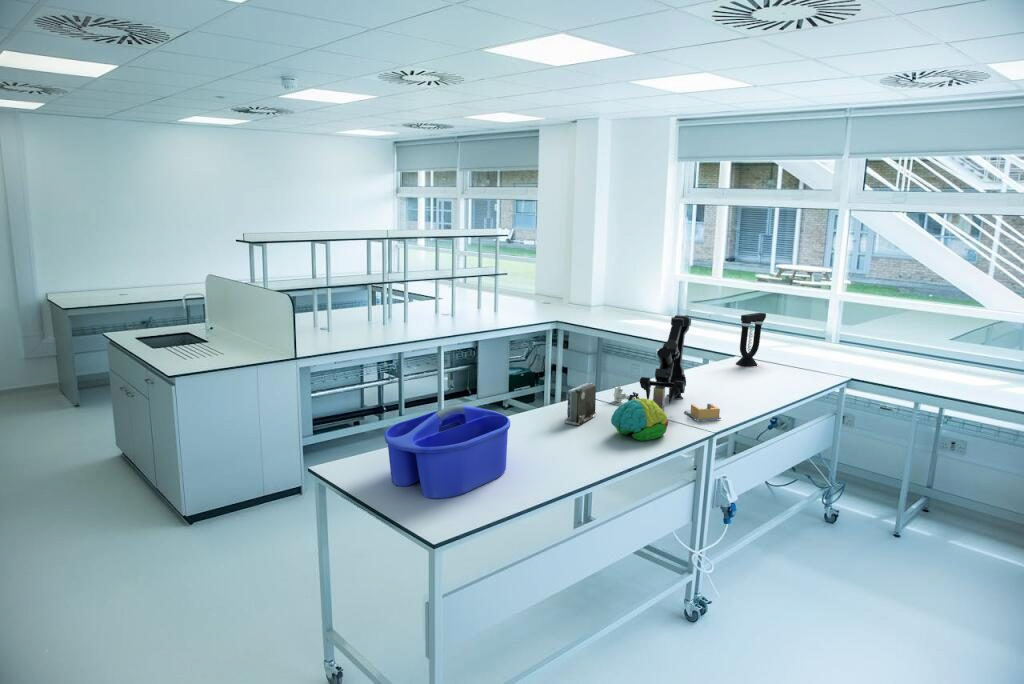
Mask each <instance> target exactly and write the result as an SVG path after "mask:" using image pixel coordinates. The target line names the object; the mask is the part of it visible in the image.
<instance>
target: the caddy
mask: <svg viewBox="0 0 1024 684" xmlns="http://www.w3.org/2000/svg"><path fill="white" fill-rule="evenodd" d="M510 428H511V420H510V418H509V417H508V416H506V414H503V413H501V412H498V411H494V410H491V409H485V408H480V407H474V406H469V405H461V404H456V405H449V406H447V407H444V408H442V409H440V410H436V411H432V412H429V413H426V414H424V415H421V416H420V415H419V416H416V417H413V418H410V419H407V420H403V421H400V422H398V423H395V424H393V425H392V426H390V427H388V428H387V430H386V431H385V432H384V441H385V443H386V445H387V450H388V459H389V460H388V461H389V468H390V469H389V470H390V477H391V483H392V484H393V485H394V484H395V485H394V486H396V485H398V486H397V487H407V486H412V485H414V484H415V483H417V482H420V487H421V489H420V490H421V493H422V496H424V497H425V498H428V499H445V498H446V499H447V498H452V497H456V496H459V495H460V496H461V495H463V494H466V493H468V492H471V491H473V490H474V489H476V488H478V487H480V486H484V485H485V484H487V483H489V482H491V481H494V480H496V479H497V478H499V477H501V476H502V475H503V474H504V473H505V472H506V470H507V455H508V454H507V453H508V452H507V451H508V435H509V430H510Z"/></svg>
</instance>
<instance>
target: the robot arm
mask: <svg viewBox="0 0 1024 684" xmlns="http://www.w3.org/2000/svg"><path fill="white" fill-rule="evenodd" d="M670 318H671V319H670V326H671V328H670V331H669V334H668V338H667V341H665V342H664V343H663V345H662V347H660V348H659V349H658V350H657V352H656V353H657V354H656V355H657V359H658V362H659V368H655V369H654V370H655V371H654V376H655V377H654V379H655V381H654V380H651V378H650V377H647V376H646V377H645V376H641V377H640V379H639V386H640V388H641V389H643V390H644V391H645V393H646V399H648V400H650V396H651V387H652V386H653V387H655V386H661V387H665V388H667V389H668V394H667V393H666V395H667V396H668V397H669V398H668V404H671V403H672V402H673V400H683V399H684V397H683V396H682V394H685V390H686V387H687V378H686V374H685V370H684V368H683V366H682V363H683V353H684V345H685V337H686V334H687V332H688V331H689V330H690V327H691V325H692V318H690V317H689V315H679V314H675V315H674V317H673V316H672V317H670ZM667 396H666V397H667Z"/></svg>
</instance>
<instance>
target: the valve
mask: <svg viewBox="0 0 1024 684" xmlns="http://www.w3.org/2000/svg"><path fill="white" fill-rule="evenodd" d="M623 389H624V388H623V387H622V386H616V387H614V392H613V397H614V398H613V402H614V401H617V402H619V403H622V402H623V400H627V401H630V400H635V399H637V398H638V399H640V397H639V393H636V392H635V391H633V392H632V394H629V395H627V394H626V393H625V392H623ZM621 401H622V402H621ZM617 402H616V403H617Z"/></svg>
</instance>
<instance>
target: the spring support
mask: <svg viewBox="0 0 1024 684" xmlns="http://www.w3.org/2000/svg"><path fill="white" fill-rule="evenodd" d="M766 318H767V313H766V312H754V313H747V314H741V316H740V321H741V332H740V333H741V334H740V341H739V352H740V354H741V358H740V359H739V360H737V361H736V363H735V364H736V365H738V366H741V367H746V366H757V365H758V363H757V361H756V360H755V359H754V356H755V355H756V354H757V352H758V351H759V346H760V341H761V333H762V332H761V331H762V326H763V323H764V321H765V319H766ZM753 325H754V326H753ZM748 333H749V334H748ZM757 367H758V366H757Z"/></svg>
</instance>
